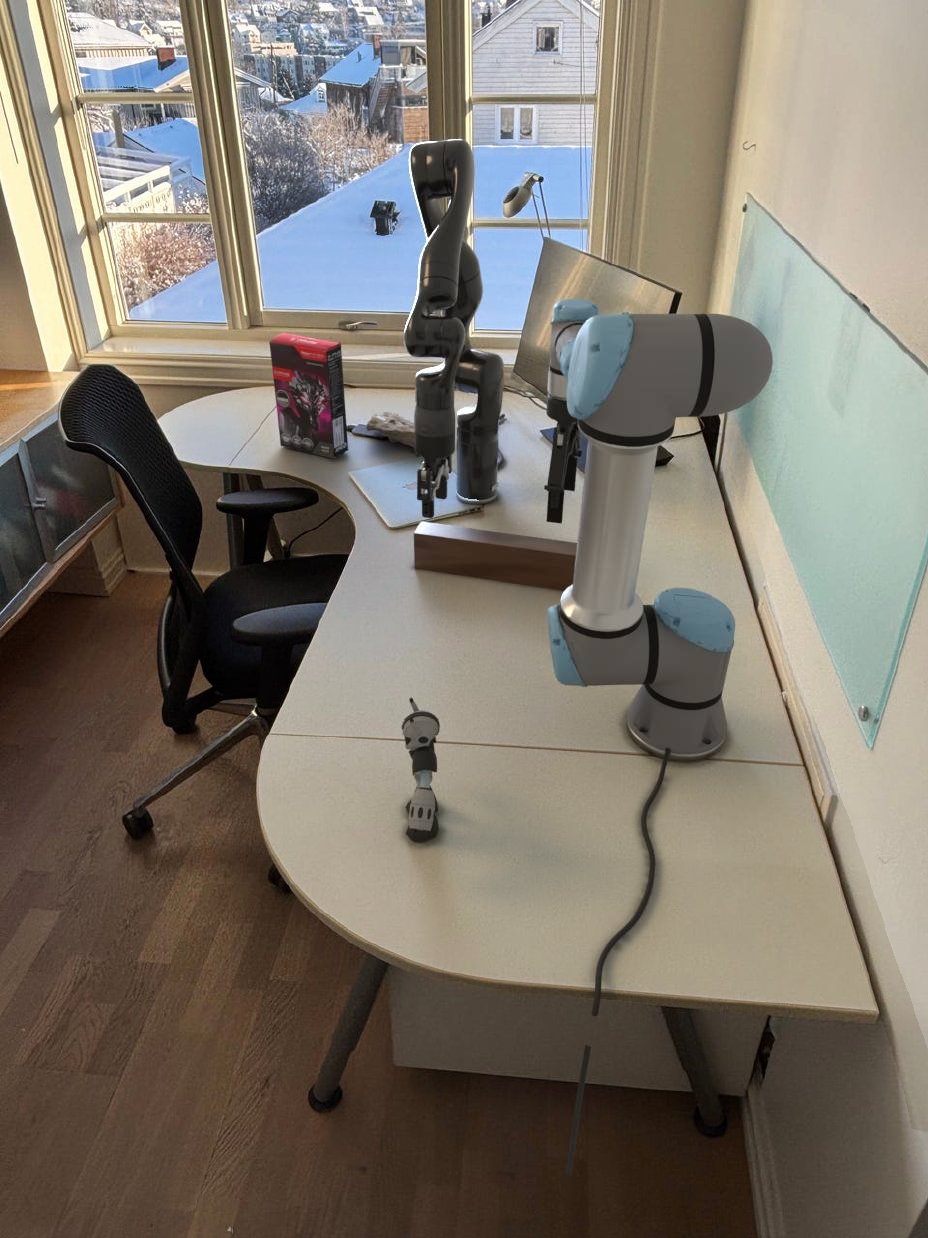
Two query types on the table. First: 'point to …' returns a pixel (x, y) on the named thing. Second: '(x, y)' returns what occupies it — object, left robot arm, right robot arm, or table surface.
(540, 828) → the table surface
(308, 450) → the graphics card box
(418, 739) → the robot
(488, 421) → the left robot arm
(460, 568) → the walnut beam
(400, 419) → the stone
